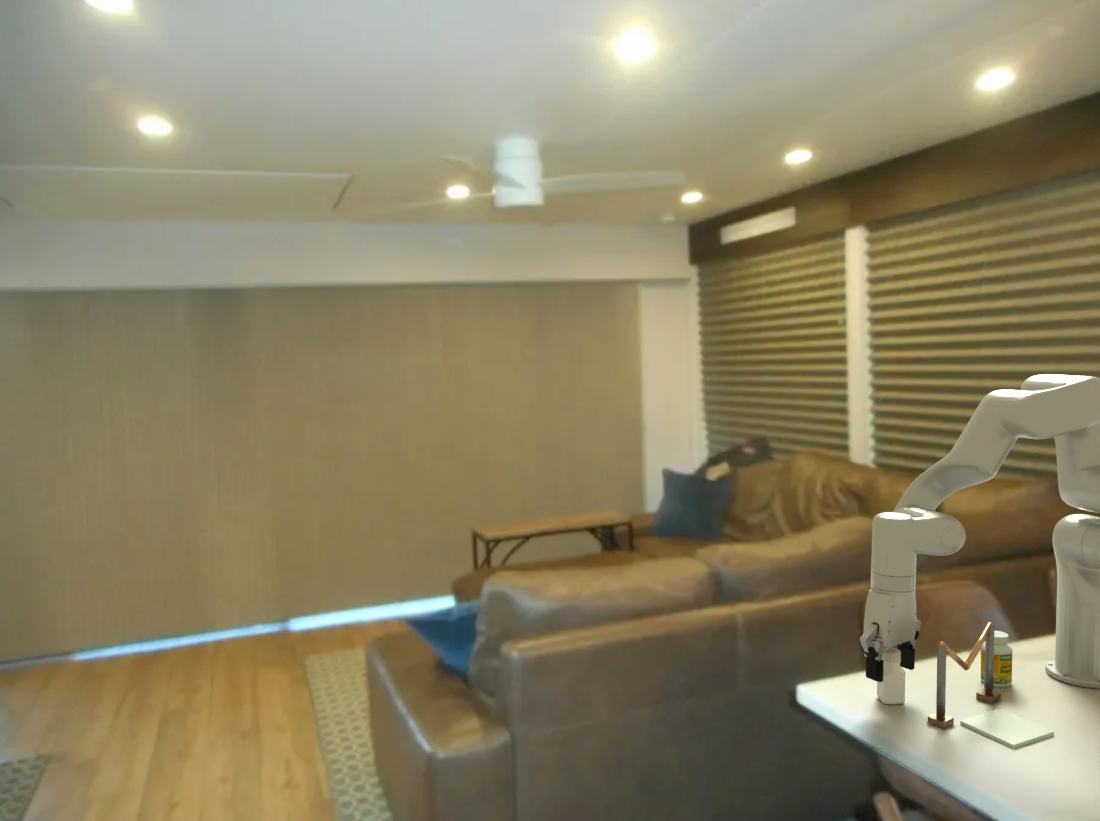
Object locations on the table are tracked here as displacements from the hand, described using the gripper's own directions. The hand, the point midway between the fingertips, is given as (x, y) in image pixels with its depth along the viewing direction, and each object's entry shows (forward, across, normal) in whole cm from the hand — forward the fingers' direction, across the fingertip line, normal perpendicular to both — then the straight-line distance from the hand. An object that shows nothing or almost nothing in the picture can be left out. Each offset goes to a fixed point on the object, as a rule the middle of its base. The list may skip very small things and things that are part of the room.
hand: (890, 673), depth 155 cm
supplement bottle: (+5, -24, +7) cm, 25 cm away
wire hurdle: (+5, -7, +10) cm, 14 cm away
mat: (+5, -6, +18) cm, 20 cm away
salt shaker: (+6, -1, 0) cm, 6 cm away
